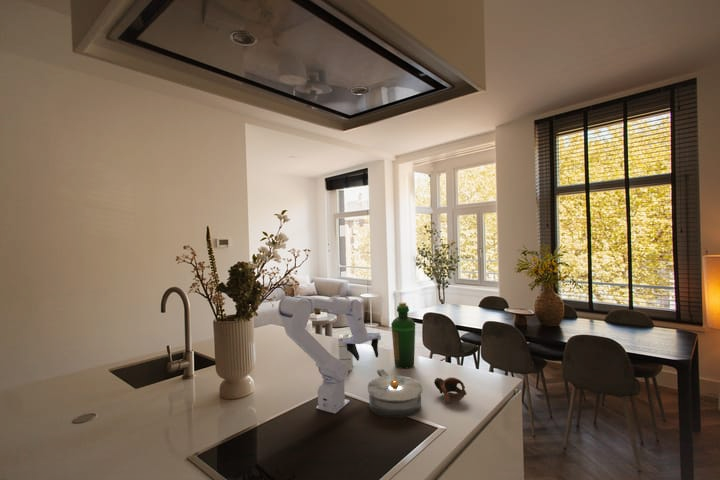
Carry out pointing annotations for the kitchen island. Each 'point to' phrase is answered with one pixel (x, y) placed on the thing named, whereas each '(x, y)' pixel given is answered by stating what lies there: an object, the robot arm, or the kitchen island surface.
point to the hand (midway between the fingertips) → (367, 357)
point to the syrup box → (345, 351)
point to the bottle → (403, 338)
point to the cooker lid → (394, 388)
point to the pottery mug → (450, 389)
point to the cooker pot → (395, 407)
